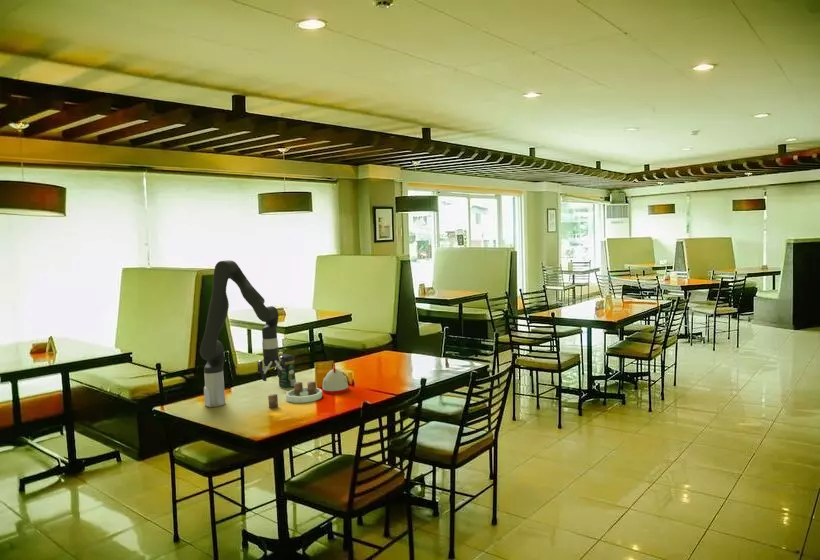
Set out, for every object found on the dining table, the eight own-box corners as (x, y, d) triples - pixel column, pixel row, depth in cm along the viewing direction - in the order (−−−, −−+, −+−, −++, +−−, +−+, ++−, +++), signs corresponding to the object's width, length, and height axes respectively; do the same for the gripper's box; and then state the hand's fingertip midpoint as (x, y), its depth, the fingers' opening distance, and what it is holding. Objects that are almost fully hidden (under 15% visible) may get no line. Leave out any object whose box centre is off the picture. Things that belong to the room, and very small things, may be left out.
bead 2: (311, 395, 297) (310, 384, 296) (306, 394, 300) (305, 382, 299) (318, 393, 300) (317, 382, 299) (313, 392, 303) (312, 381, 302)
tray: (299, 405, 283) (299, 399, 283) (279, 398, 296) (279, 393, 296) (329, 396, 296) (328, 391, 296) (308, 391, 309) (308, 385, 309)
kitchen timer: (347, 386, 316) (346, 359, 315) (348, 392, 302) (347, 365, 301) (322, 388, 314) (321, 361, 313) (322, 395, 300) (321, 367, 299)
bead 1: (297, 395, 297) (296, 384, 296) (292, 394, 300) (292, 383, 299) (304, 394, 300) (304, 382, 299) (299, 392, 303) (299, 381, 302)
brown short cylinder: (272, 409, 279) (271, 397, 278) (267, 407, 282) (266, 395, 282) (279, 406, 282) (279, 395, 282) (275, 405, 285) (274, 393, 285)
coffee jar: (276, 386, 322) (274, 354, 320) (288, 383, 328) (286, 352, 326) (287, 389, 315) (284, 356, 314) (298, 385, 321) (296, 353, 320)
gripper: (261, 350, 273) (263, 383, 274) (286, 345, 283) (288, 377, 284) (253, 348, 278) (255, 381, 279) (278, 343, 288) (280, 375, 289)
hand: (272, 379), depth 282 cm, fingers open, 8 cm apart
